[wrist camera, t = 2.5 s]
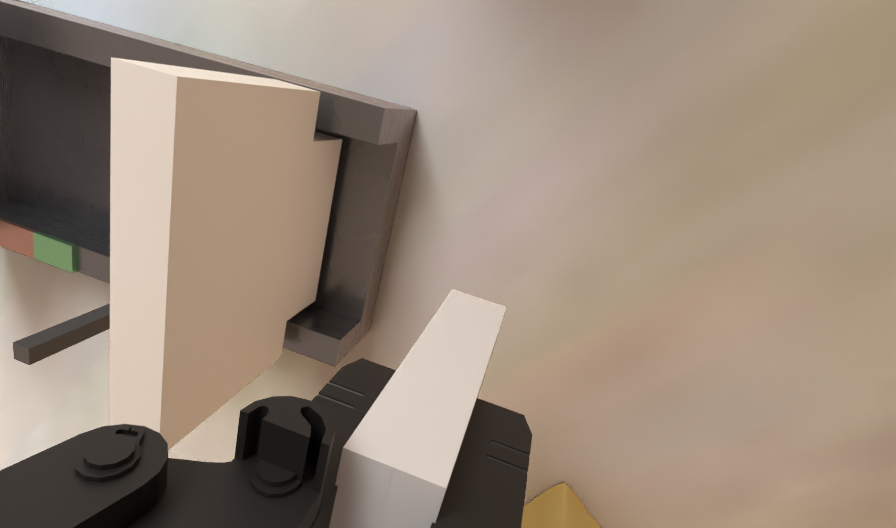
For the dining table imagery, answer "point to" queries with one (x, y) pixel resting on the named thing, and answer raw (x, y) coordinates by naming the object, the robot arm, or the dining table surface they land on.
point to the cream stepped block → (208, 235)
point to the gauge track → (89, 150)
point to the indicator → (62, 336)
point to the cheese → (557, 510)
